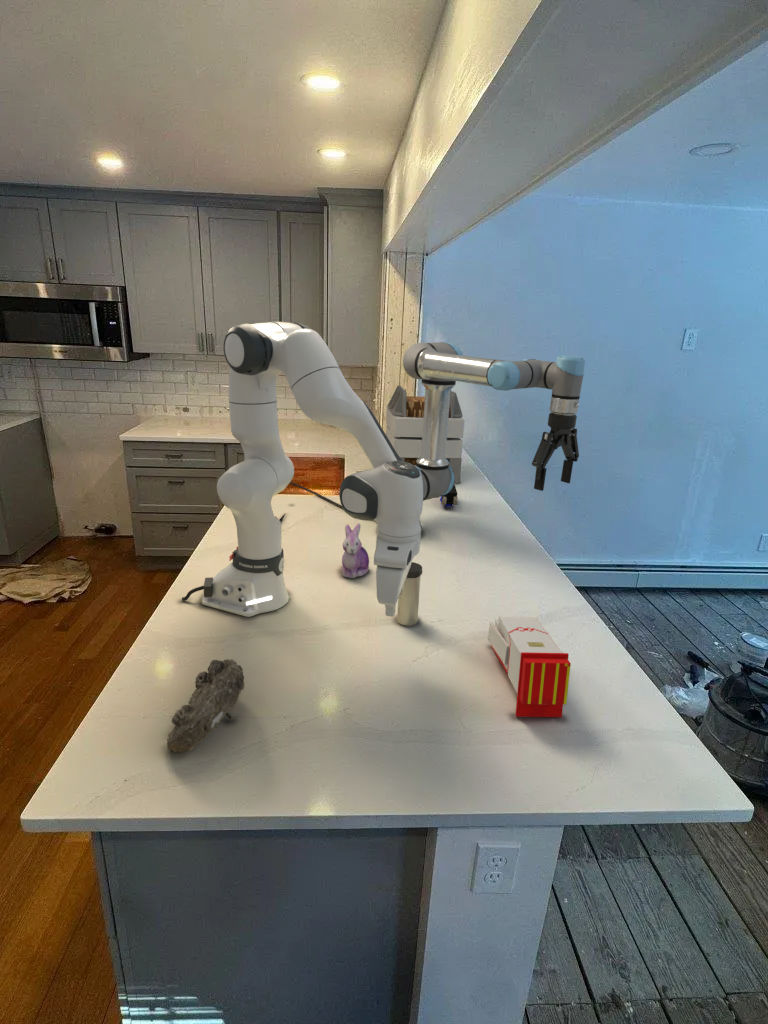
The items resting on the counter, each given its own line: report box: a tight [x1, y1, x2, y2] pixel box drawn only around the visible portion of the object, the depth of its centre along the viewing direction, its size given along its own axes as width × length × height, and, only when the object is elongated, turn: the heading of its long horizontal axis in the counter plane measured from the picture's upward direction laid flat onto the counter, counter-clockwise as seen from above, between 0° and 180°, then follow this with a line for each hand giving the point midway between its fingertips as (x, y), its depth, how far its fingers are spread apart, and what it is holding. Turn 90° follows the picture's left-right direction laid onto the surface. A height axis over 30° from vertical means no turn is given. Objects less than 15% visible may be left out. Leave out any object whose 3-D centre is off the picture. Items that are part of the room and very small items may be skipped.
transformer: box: [385, 384, 465, 484], centre depth 268 cm, size 34×33×41 cm
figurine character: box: [439, 483, 459, 510], centre depth 230 cm, size 7×8×15 cm
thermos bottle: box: [396, 575, 422, 627], centre depth 142 cm, size 5×5×15 cm
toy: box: [487, 616, 572, 718], centre depth 123 cm, size 12×13×30 cm
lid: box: [407, 561, 423, 578], centre depth 140 cm, size 6×6×2 cm
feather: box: [278, 513, 286, 523], centre depth 210 cm, size 2×28×2 cm
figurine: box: [341, 523, 370, 579], centre depth 167 cm, size 9×10×15 cm
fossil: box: [166, 658, 245, 754], centre depth 106 cm, size 22×10×15 cm
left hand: (394, 603), depth 119 cm, fingers open, 8 cm apart
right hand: (552, 485), depth 166 cm, fingers open, 13 cm apart
